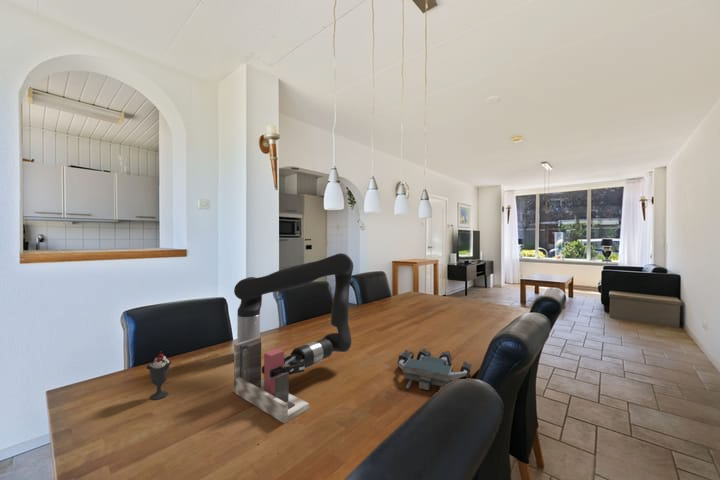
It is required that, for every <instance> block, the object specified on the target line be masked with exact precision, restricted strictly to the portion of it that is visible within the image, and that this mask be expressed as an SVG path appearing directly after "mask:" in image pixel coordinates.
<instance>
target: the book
mask: <svg viewBox="0 0 720 480" xmlns="http://www.w3.org/2000/svg"><path fill="white" fill-rule="evenodd" d="M263 355H264V356H263V357H264V358H263V362H264V363H263V366H264V374H263V380H264V391H266V392H267V393H269V394H273V393H275V377H278V376H280V375H282V374H279V375H277V376H275V377H273V378H271V377H270V370H272V369H275V368H277V367H279V366H280V367H281V366H282V365H283V364H284V356H285V351H284V350H282V349H280V348H275V349H272V350H269V351H267V352H264V353H263Z"/></svg>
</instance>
